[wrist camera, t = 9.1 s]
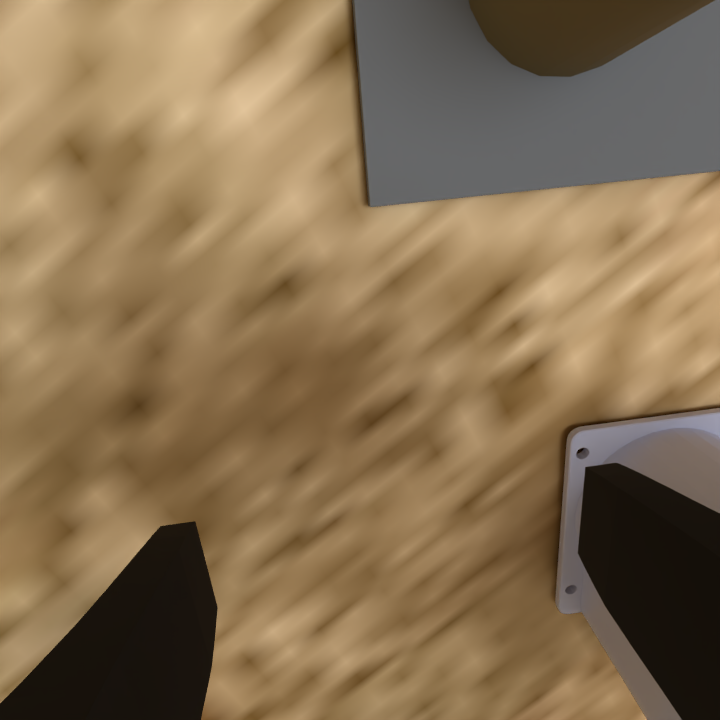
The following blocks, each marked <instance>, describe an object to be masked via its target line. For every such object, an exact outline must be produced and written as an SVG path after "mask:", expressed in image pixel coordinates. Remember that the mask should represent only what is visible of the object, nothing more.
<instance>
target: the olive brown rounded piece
mask: <svg viewBox="0 0 720 720" xmlns="http://www.w3.org/2000/svg"><path fill="white" fill-rule="evenodd" d="M713 1H715V0H469V4H470V9H471V11H472V12H473V14H474V16H475V18H476V20H477V22H478V24H479V26H480V28H481V30H482V32H483V34H484V36H485V38H486V39H487V41H488V42H489V43H490V44H491V45H492V46H493V47H494V48H495V49H496V50H497V51H498V52H499V53H500V54H501V55H502V56H503V57H504V58H506V59H507V60H508V61H509V62H510V63H511V64H512V65H515V66H517V67H520V68H522V69H524V70H527V71H529V72H531V73H534V74H536V75H538V76H559V77H572V76H574V75H577V74H580V73H583V72H586V71H589V70H592V69H595V68H598V67H600V66H603V65H604V64H606V63H608V62H610V61H611V60H613V59H615V58H616V57H618V56H620V55H622V54H623V53H625V52H627V51H629V50H630V49H632V48H634V47H635V46H637V45H639V44H641V43H642V42H644V41H646V40H647V39H649V38H651V37H653V36H654V35H656V34H658V33H660V32H661V31H663V30H665V29H666V28H668V27H670V26H672V25H673V24H675V23H677V22H679V21H680V20H682V19H684V18H685V17H687V16H689V15H691V14H692V13H694V12H696V11H697V10H699V9H701V8H703V7H704V6H706V5H708V4H710V3H711V2H713Z"/></svg>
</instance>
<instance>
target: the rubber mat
mask: <svg viewBox="0 0 720 720" xmlns="http://www.w3.org/2000/svg"><path fill="white" fill-rule="evenodd" d="M352 5H353V17H354V30H355V42H356V55H357V67H358V80H359V93H360V105H361V118H362V130H363V143H364V155H365V168H366V180H367V193H368V205H369V206H370V207H376V206H385V205H395V204H405V203H414V202H424V201H434V200H443V199H453V198H463V197H472V196H482V195H491V194H501V193H511V192H520V191H530V190H540V189H549V188H559V187H569V186H578V185H588V184H598V183H607V182H617V181H627V180H636V179H646V178H655V177H665V176H675V175H684V174H694V173H704V172H713V171H720V0H715V1H713V2H711V3H710V4H708V5H706V6H704V7H703V8H701V9H699V10H697V11H696V12H694V13H692V14H691V15H689V16H687V17H685V18H684V19H682V20H680V21H679V22H677V23H675V24H673V25H672V26H670V27H668V28H666V29H665V30H663V31H661V32H660V33H658V34H656V35H654V36H653V37H651V38H649V39H647V40H646V41H644V42H642V43H641V44H639V45H637V46H635V47H634V48H632V49H630V50H629V51H627V52H625V53H623V54H622V55H620V56H618V57H616V58H615V59H613V60H611V61H610V62H608V63H606V64H604V65H603V66H600V67H598V68H595V69H592V70H589V71H586V72H583V73H580V74H577V75H574V76H572V77H559V76H538V75H536V74H534V73H531V72H529V71H527V70H524V69H522V68H520V67H517V66H515V65H512V64H511V63H510V62H509V61H508V60H507V59H506V58H504V57H503V56H502V55H501V54H500V53H499V52H498V51H497V50H496V49H495V48H494V47H493V46H492V45H491V44H490V43H489V42H488V41H487V39H486V38H485V36H484V34H483V32H482V30H481V28H480V26H479V24H478V22H477V20H476V18H475V16H474V14H473V12H472V11H471V9H470V4H469V0H352Z"/></svg>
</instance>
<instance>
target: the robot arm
mask: <svg viewBox="0 0 720 720" xmlns="http://www.w3.org/2000/svg"><path fill="white" fill-rule="evenodd" d="M581 448H584V449H583V451H582V452H581V453H578V454H576V453H577V451H578V450H579V449H581ZM568 586H569V587H568ZM555 603H556V606H557V608H558V610H559V611H560V612H561V613H563V614H572V613H579V612H582V614H583V615H584V617H585V619H586V620H587V622H588V623H589V625H590V627H591V628H592V630H593V632H594V633H595V635H596V637H597V638H598V640H599V641H600V643H601V645H602V646H603V648H604V650H605V651H606V653H607V655H608V656H609V658H610V659H611V661H612V663H613V664H614V666H615V668H616V669H617V671H618V673H619V674H620V676H621V677H622V679H623V681H624V682H625V684H626V686H627V687H628V689H629V691H630V692H631V694H632V695H633V697H634V699H635V700H636V702H637V704H638V705H639V707H640V709H641V710H642V712H643V714H644V715H645V717H646V718H647V720H720V408H715V409H708V410H700V411H693V412H685V413H678V414H670V415H663V416H656V417H648V418H641V419H633V420H626V421H618V422H611V423H603V424H596V425H589V426H581V427H577V428H575V429H573V430H572V431H571V432H570V433H569V435H568V437H567V444H566V458H565V472H564V486H563V500H562V514H561V528H560V542H559V557H558V571H557V585H556V599H555ZM216 618H217V604H216V600H215V596H214V592H213V588H212V584H211V581H210V577H209V573H208V569H207V565H206V561H205V557H204V553H203V550H202V546H201V542H200V538H199V534H198V530H197V526H196V523H195V522H188V523H180V524H173V525H166V526H160V528H159V529H158V530H157V531H156V532H155V533H154V534H153V535H152V537H151V538H150V539H149V540H148V541H147V543H146V544H145V545H144V546H143V547H142V548H141V550H140V551H139V552H138V553H137V554H136V555H135V557H134V558H133V559H132V560H131V561H130V563H129V564H128V565H127V566H126V567H125V568H124V570H123V571H122V572H121V573H120V574H119V576H118V577H117V578H116V579H115V580H114V581H113V583H112V584H111V585H110V586H109V587H108V589H107V590H106V591H105V592H104V593H103V594H102V595H101V597H100V598H99V599H98V600H97V601H96V602H95V603H94V605H93V606H92V607H91V608H90V609H89V610H88V611H87V613H86V614H85V615H84V616H83V617H82V618H81V619H80V621H79V622H78V623H77V624H76V625H75V626H74V627H73V628H72V629H71V630H70V632H69V633H68V634H67V635H66V636H65V637H64V638H63V639H62V640H61V641H60V642H59V643H58V644H57V645H56V646H55V647H54V648H53V650H52V651H51V652H50V653H49V654H48V655H47V656H46V657H45V658H44V659H43V660H42V661H41V662H40V663H39V664H38V665H37V666H36V668H35V669H34V670H33V671H32V672H31V673H30V674H29V675H28V676H27V677H26V678H25V679H24V680H23V681H22V682H21V683H20V684H19V685H18V686H17V687H16V688H15V689H14V690H13V691H12V692H11V693H10V694H9V695H8V696H7V697H6V698H5V699H4V700H3V701H2V702H1V703H0V720H201V716H202V711H203V706H204V702H205V697H206V692H207V687H208V683H209V678H210V673H211V668H212V659H213V650H214V641H215V630H216Z"/></svg>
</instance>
